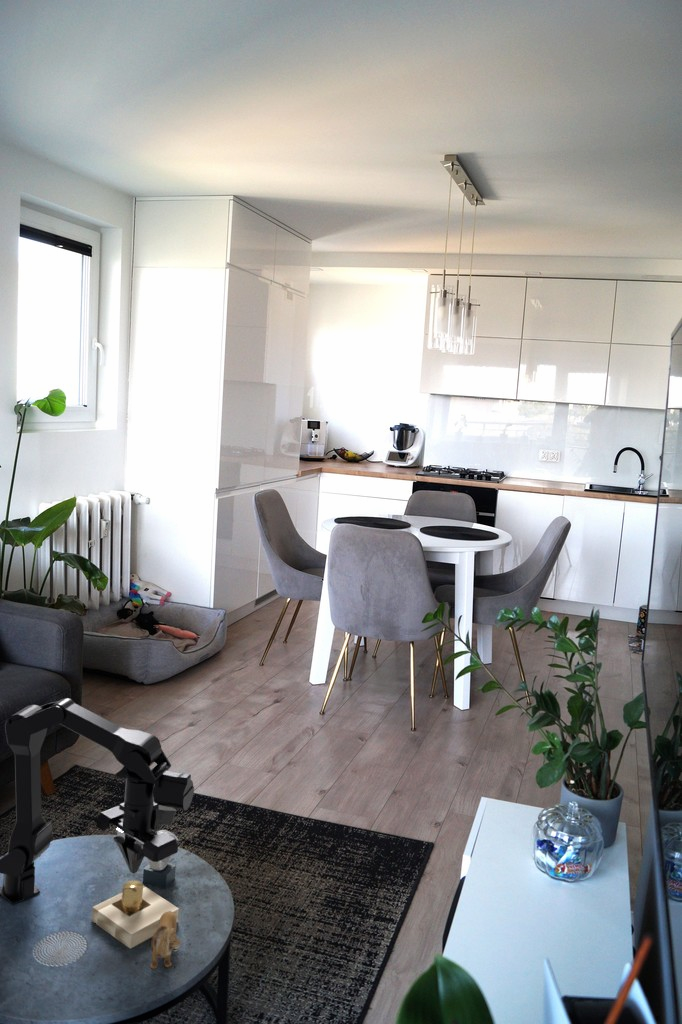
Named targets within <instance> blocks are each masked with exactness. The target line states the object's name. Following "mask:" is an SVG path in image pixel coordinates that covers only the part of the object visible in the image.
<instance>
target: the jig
mask: <svg viewBox="0 0 682 1024" xmlns="http://www.w3.org/2000/svg"><path fill="white" fill-rule="evenodd" d="M121 904H122V892H120V893H118V894H116V895H115V896H112V897H110V898H108V899H105V900H104V901H102V902H100V903H97V904H96V905H94V906H93V907H92V910H91V911H92V912H91V922H93V923H94V924H95V923H96V924H95V925H97V926H98V927H99V928H101V929H102V930H103V931H105V932H107V933H108V934H109V935H111V936H112V937H113V938H114V939H116V940H118V941H119V942H120V943H121V944H123V945H124V946H126V947H127V948H129V949H133V948H135V947H136V946H138V945H139V944H142V943H144V942H145V941H147V940H149V939H152V937H153V935H154V933H155V932H156V930H157V928H158V926H159V921H160V918H161V916H162V915H163V914H164V913H165V912H168V911H171V912H172V913H174V914H175V916H176V921H177V923H178V922H179V912H180V907H177V906H176V905H174V904H172V903H171V902H170V901H168V900H167V899H165V898H163V897H162V896H160V895H159V894H157V893H156V892H155V891H152V889H150V888H148V887H147V886H145V885H143V895H142V907H141V911H139V912H137V913H135V914H133V915H131V916H128V915H126V914H125V913H123V912H122V911H121Z"/></svg>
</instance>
